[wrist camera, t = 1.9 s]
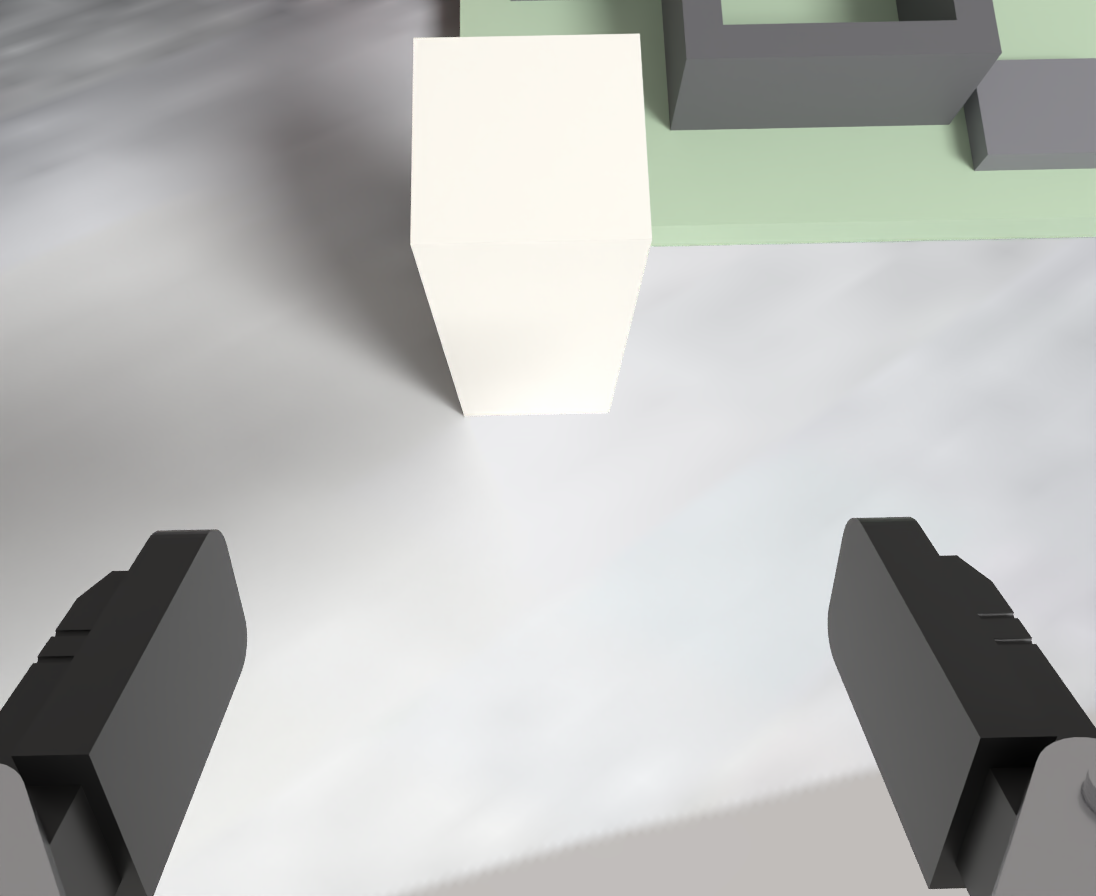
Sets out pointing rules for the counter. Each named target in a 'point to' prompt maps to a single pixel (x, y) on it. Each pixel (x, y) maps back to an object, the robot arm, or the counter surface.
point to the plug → (530, 214)
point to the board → (851, 114)
